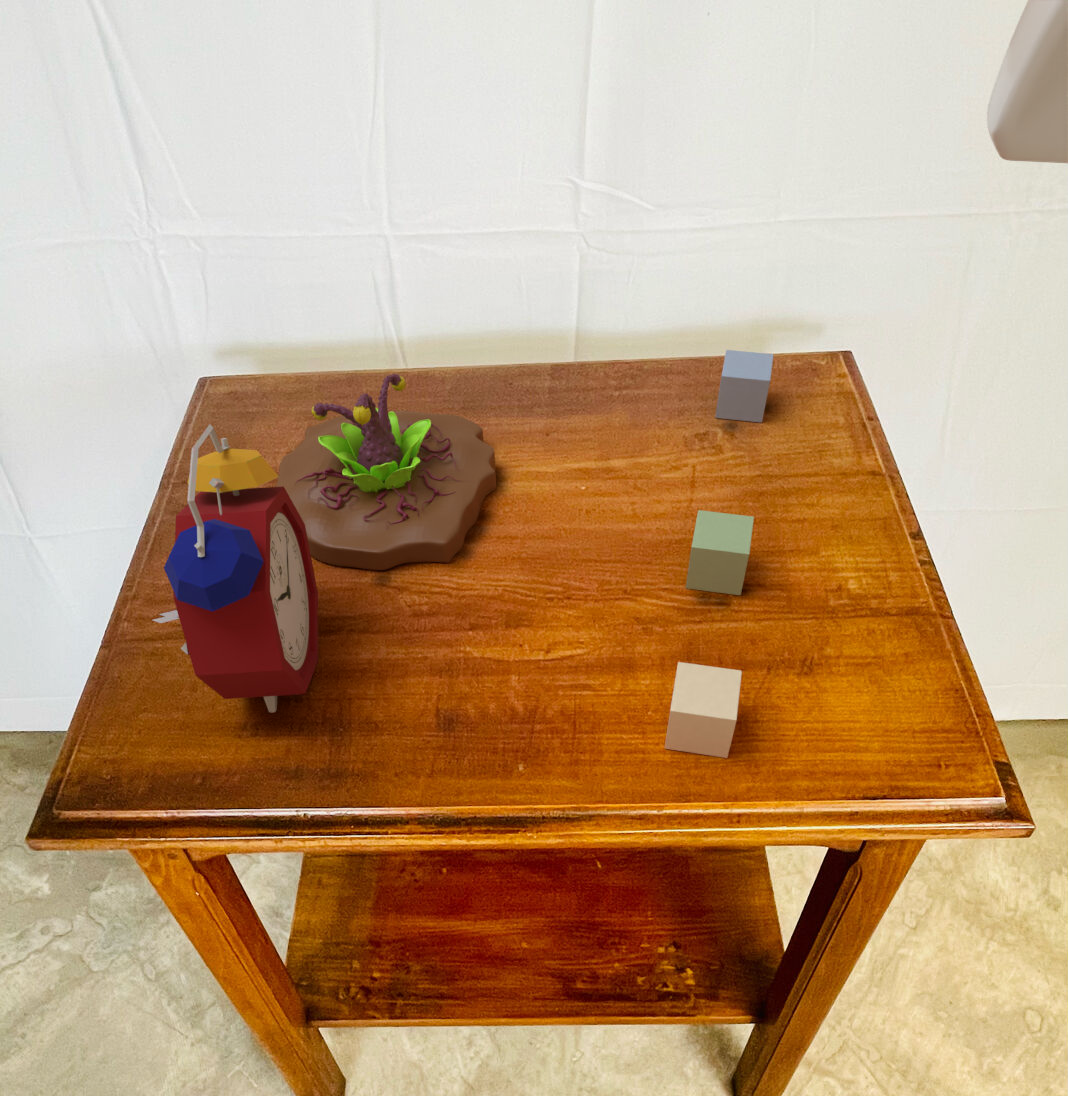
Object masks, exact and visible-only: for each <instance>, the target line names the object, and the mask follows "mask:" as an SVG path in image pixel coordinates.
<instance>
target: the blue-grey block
mask: <svg viewBox="0 0 1068 1096" xmlns="http://www.w3.org/2000/svg"><path fill="white" fill-rule="evenodd" d="M773 363H774V353H768V352H767V353H765V352H755V351H745V350H734V349H726V350H725V354H724V360H723V364H722V365H723V366H722V371H721V375H720V376H721V377H720V383H719V389H718V397H717V404H716V408H715V416H714V418H715V419H721V420H722V419H723V420H731V421H741V422H750V423H759V424H760V423H761V424H762V423H763V421H764V415H765V409H766V405H767V399H768V395H769V389H770V386H771V385H770V384H771V380H772V370H773Z"/></svg>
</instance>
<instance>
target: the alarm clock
mask: <svg viewBox="0 0 1068 1096" xmlns="http://www.w3.org/2000/svg"><path fill="white" fill-rule="evenodd" d="M208 436H209V437H210V440H211V442H212V444H213V447H214V449H215V451H213V452H210V453H207V454H205V455H203V456H200V457H199V449H200V447H201V446H202V444H203V443H204V442H205V440H207V438H208ZM189 463H190V464H189V474H188V475H189V476H188V478H187V482H186V484H187V485H188V486H187V487H188V488H187V501H186V502H187V504H186V506H184V507H183V508H182V509H181V510H180V511H179V512H178V513H177V515H175V531H174V532H173V533H172V534H173V535H174V544H173V547H172V549H171V551H170V553H169V555H168V557H167V560H166V562H165V564H164V565H163V570H164V571H165V574H166V576H167V579H168V581H169V583H170V586H171V588H172V590H173V591H172V592H173V594H172V597H173V601H174V605H175V608H176V609H174V610H171V611H167V612H163V613H159V614H158V615H159V616H162V617H158V618H154V619H152V621H153V622H155V623H159V624H163V623H167V622H172V621H175V620H179V622H180V626H181V629H182V633H183V637H184V639H185V643H184V644H183V645H182V646H181V648H180V650H181V651H182V652H184V654H186V655H187V656H189V658H190V660H191V661H190V662H191V664H192V668H193V672H194V675H195V677H197V678H198V679H199V680H201V681H202V682H203V683H204V684H206V685H207V686H208V687H209V688H210V689H211V690H213V691H214V692H215V693H217V694H218V695H219V696H220V697H221V698H223V699H224V700H229V699H230V700H232V699H247V698H263V700H264V703H265V705H266V708H267V711H268V713H271V714H272V713H276V712H277V711H278V696H279V697H280V696H282V697H283V696H295V695H297V696H298V695H306V693H307V690H308V688H309V685H310V682H311V680H312V677H313V675H314V672H315V670H316V667H317V665H318V662H319V592H318V586H317V580H316V576H315V571H314V567H313V560H312V555H311V554H310V549H309V544H308V539H307V533H306V528H305V524H304V522H303V520H302V518H301V516H300V515H299V513H298V511H297V509H296V508H295V506H294V504H293V502H292V500H291V499H290V497H289V495H288V493H287V491H286V490H285V488H284V486H282V487H276V486H270V487H269V486H267V487H266V486H265V487H261V486H263V485H265V484H267V483H269V482H271V481H273V480H275V479H278V477H279V474H278V473H277V472H276V471H275V470H274V468H272V467H271V465H270V464H269V462H268V461H267V460H266V459H265V457H263V456H262V455H261V453H260V452H259V451H258V450H257V449H247V448H246V449H245V448H232V447H231V445H229V441H228V438H227V437H222V438H220V440H219V438H218V436H217V433H216V431H215V428H214V427H213V425H211V423H210V424H208V426H207V427H206V429H204V430H203V433H202V434H201V435H200V436H199V438H198V439H197V441H196V442H195V443H194V445H193V446H192V448H191V451H190V462H189ZM196 492H198V493H197V494H196Z"/></svg>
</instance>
